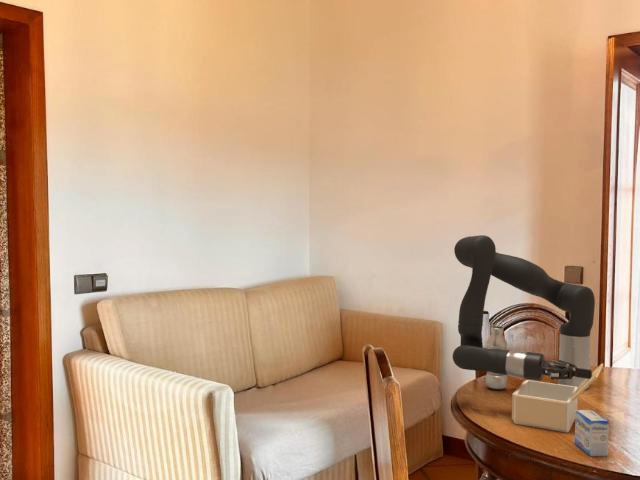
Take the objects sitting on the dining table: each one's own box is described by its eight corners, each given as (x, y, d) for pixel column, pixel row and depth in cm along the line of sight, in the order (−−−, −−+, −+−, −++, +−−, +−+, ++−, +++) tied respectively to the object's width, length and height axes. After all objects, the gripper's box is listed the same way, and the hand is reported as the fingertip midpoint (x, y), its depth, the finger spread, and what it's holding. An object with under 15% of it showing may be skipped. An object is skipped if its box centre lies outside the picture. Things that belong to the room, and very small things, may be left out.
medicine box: (574, 444, 157) (574, 409, 157) (591, 443, 157) (592, 409, 157) (590, 456, 149) (591, 420, 149) (608, 456, 150) (609, 420, 149)
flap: (602, 363, 174) (603, 364, 174) (579, 385, 177) (581, 386, 177) (595, 376, 161) (597, 377, 161) (571, 399, 164) (572, 401, 164)
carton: (524, 405, 186) (525, 379, 186) (577, 414, 179) (578, 386, 178) (510, 423, 171) (511, 394, 171) (567, 433, 164) (568, 403, 164)
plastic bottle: (508, 392, 200) (509, 329, 198) (485, 390, 201) (487, 328, 200) (506, 386, 206) (507, 325, 205) (484, 385, 207) (485, 324, 206)
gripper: (520, 356, 171) (588, 366, 162) (530, 347, 183) (595, 355, 174) (519, 384, 172) (587, 394, 163) (529, 372, 183) (594, 382, 174)
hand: (591, 374), depth 168 cm, fingers closed
